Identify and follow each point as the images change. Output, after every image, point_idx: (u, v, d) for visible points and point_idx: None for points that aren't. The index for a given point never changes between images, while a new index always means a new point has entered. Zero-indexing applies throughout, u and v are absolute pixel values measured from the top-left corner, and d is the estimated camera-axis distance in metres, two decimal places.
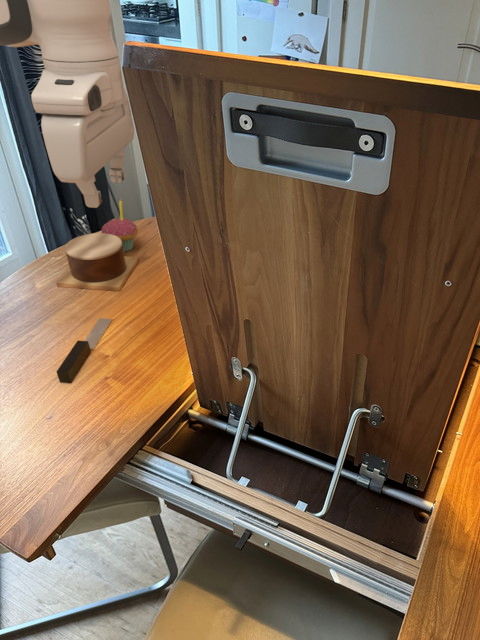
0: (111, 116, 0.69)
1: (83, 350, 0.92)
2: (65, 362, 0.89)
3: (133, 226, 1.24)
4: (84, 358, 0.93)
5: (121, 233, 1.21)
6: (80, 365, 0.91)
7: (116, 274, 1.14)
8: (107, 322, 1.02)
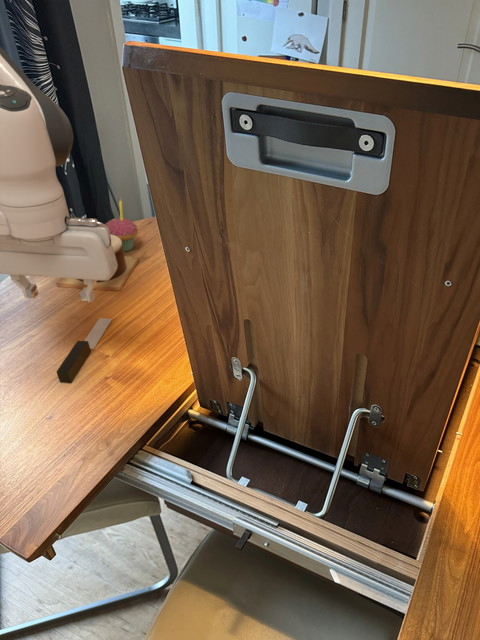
0: (56, 249, 0.76)
1: (83, 350, 0.92)
2: (65, 362, 0.89)
3: (133, 226, 1.24)
4: (84, 358, 0.93)
5: (121, 233, 1.21)
6: (80, 365, 0.91)
7: (116, 274, 1.14)
8: (107, 322, 1.02)
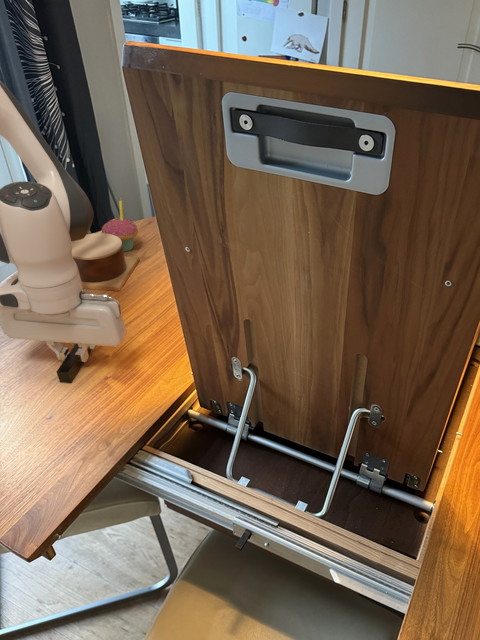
0: (71, 319, 0.83)
1: None
2: (65, 362, 0.89)
3: (133, 226, 1.24)
4: None
5: (122, 233, 1.21)
6: (80, 365, 0.91)
7: (116, 274, 1.14)
8: None
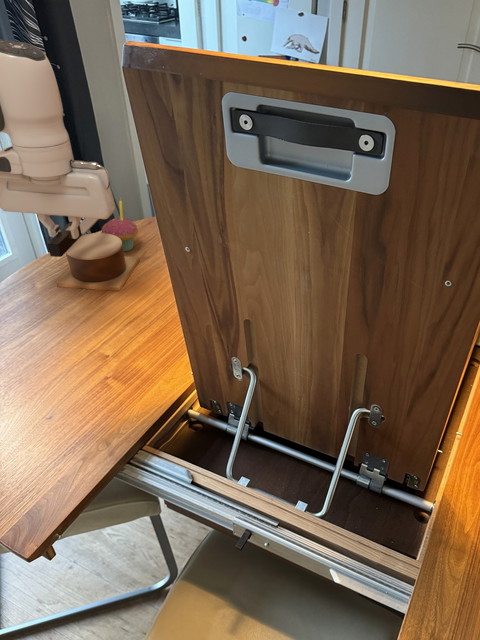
0: (62, 189, 0.87)
1: None
2: (56, 237, 0.92)
3: (133, 226, 1.24)
4: (75, 239, 0.96)
5: (122, 233, 1.21)
6: (71, 243, 0.95)
7: (116, 274, 1.14)
8: None
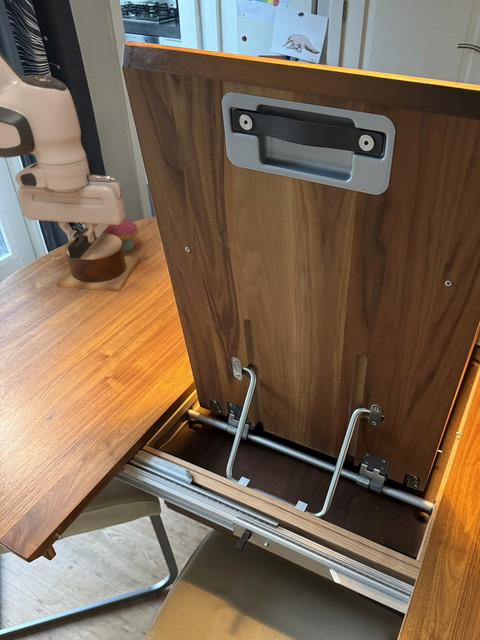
0: (80, 199, 1.00)
1: None
2: (74, 241, 1.05)
3: (133, 226, 1.24)
4: None
5: (122, 233, 1.21)
6: (87, 247, 1.08)
7: (116, 274, 1.14)
8: None
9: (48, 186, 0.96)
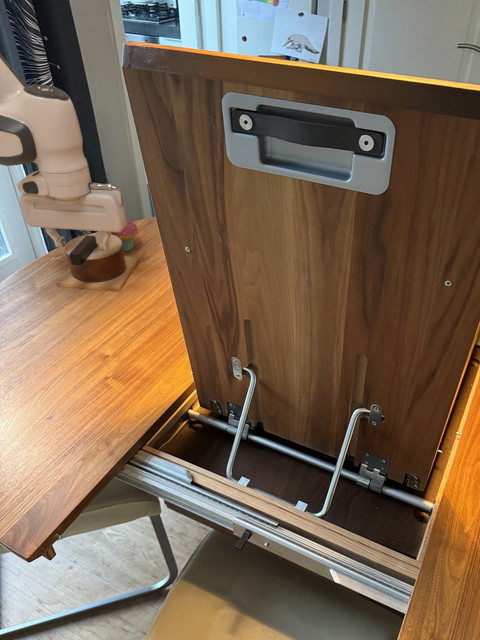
0: (82, 207, 1.01)
1: (91, 242, 1.10)
2: (76, 248, 1.06)
3: (133, 226, 1.24)
4: (92, 249, 1.10)
5: (121, 233, 1.21)
6: (88, 253, 1.09)
7: (116, 274, 1.14)
8: None
9: (50, 194, 0.97)
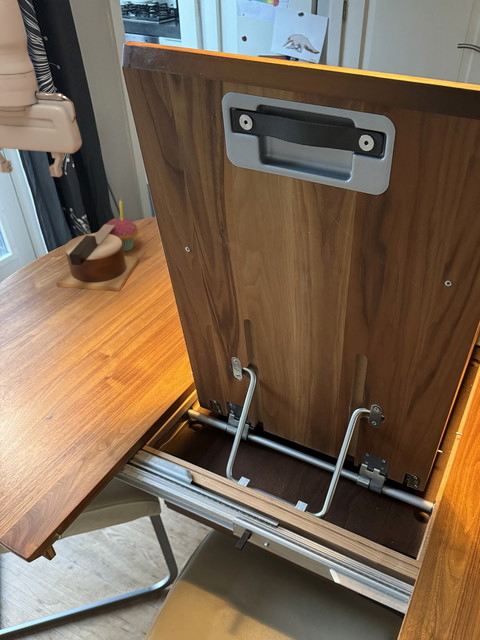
0: (28, 121, 0.88)
1: (91, 242, 1.10)
2: (76, 248, 1.06)
3: (133, 226, 1.24)
4: (92, 249, 1.10)
5: (122, 233, 1.21)
6: (88, 253, 1.09)
7: (116, 274, 1.14)
8: (111, 227, 1.20)
9: None
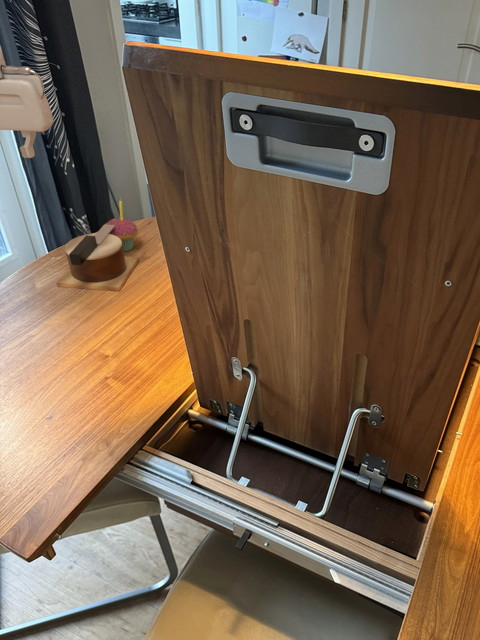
0: None
1: (91, 242, 1.10)
2: (76, 248, 1.06)
3: (133, 226, 1.24)
4: (92, 249, 1.10)
5: (121, 233, 1.21)
6: (88, 253, 1.09)
7: (116, 274, 1.14)
8: (111, 227, 1.20)
9: None
